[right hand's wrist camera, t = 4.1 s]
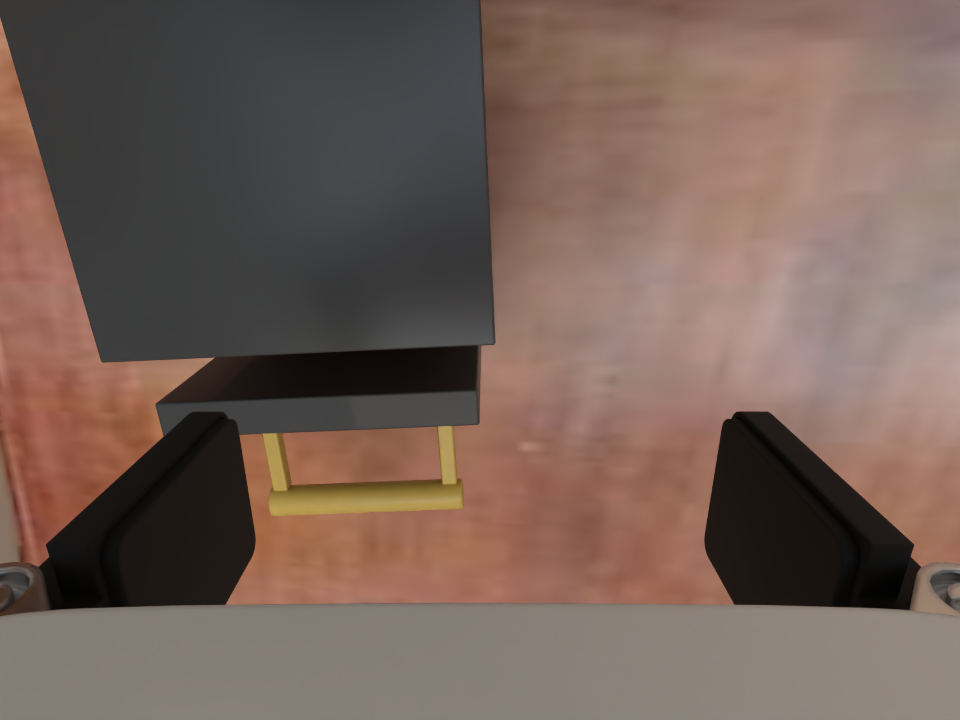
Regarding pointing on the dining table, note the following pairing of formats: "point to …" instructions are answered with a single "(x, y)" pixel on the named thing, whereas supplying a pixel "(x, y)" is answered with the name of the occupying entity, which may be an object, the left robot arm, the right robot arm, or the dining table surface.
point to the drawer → (341, 415)
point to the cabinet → (265, 171)
